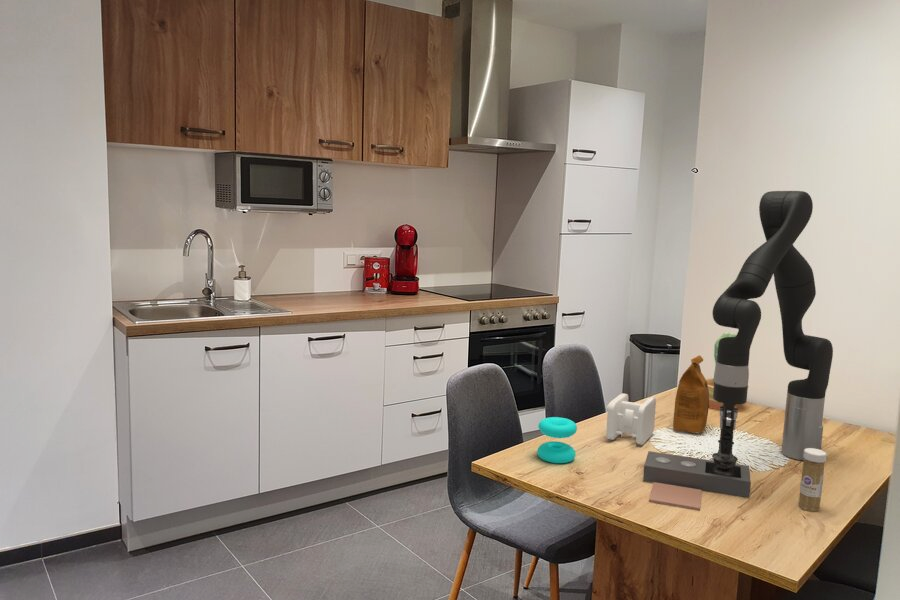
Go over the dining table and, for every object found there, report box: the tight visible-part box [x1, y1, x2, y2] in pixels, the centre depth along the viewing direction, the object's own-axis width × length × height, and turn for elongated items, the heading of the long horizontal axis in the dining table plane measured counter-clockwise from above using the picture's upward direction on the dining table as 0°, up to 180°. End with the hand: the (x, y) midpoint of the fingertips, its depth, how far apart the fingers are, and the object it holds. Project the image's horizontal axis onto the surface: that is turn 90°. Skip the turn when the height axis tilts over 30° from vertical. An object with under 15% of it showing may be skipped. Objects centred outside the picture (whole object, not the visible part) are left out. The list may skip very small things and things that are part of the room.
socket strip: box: [642, 450, 752, 499], centre depth 175 cm, size 24×11×4 cm, turn 69°
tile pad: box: [648, 482, 702, 512], centre depth 165 cm, size 11×11×1 cm
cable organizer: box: [605, 392, 657, 446], centre depth 205 cm, size 15×11×12 cm
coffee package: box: [672, 355, 710, 434], centre depth 215 cm, size 10×12×22 cm
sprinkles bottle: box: [797, 448, 827, 512], centre depth 161 cm, size 5×5×14 cm
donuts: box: [536, 416, 578, 464], centre depth 188 cm, size 10×10×10 cm
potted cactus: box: [705, 332, 750, 411], centre depth 239 cm, size 15×15×25 cm
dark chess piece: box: [711, 428, 739, 476], centre depth 172 cm, size 6×6×12 cm
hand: (725, 450), depth 172 cm, fingers closed on dark chess piece, 3 cm apart
